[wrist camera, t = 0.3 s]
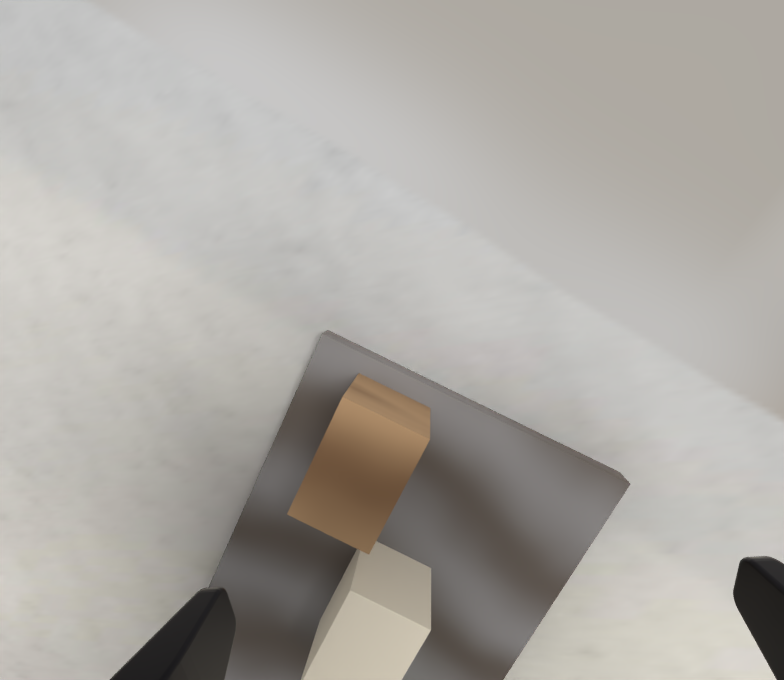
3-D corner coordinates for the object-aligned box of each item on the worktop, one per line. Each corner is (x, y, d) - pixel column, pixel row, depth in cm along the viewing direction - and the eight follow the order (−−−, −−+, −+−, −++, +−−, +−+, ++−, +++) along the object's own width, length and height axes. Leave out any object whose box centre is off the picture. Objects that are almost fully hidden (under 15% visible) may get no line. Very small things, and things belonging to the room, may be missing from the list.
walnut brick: (380, 505, 23) (369, 554, 19) (312, 471, 23) (286, 514, 19) (430, 407, 21) (430, 439, 18) (358, 373, 22) (342, 396, 18)
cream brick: (383, 651, 24) (374, 726, 20) (320, 619, 24) (298, 688, 20) (431, 568, 23) (430, 629, 19) (364, 535, 23) (350, 590, 19)
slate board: (418, 787, 27) (417, 811, 26) (176, 667, 27) (164, 685, 26) (619, 472, 22) (630, 484, 21) (327, 330, 23) (322, 333, 21)
